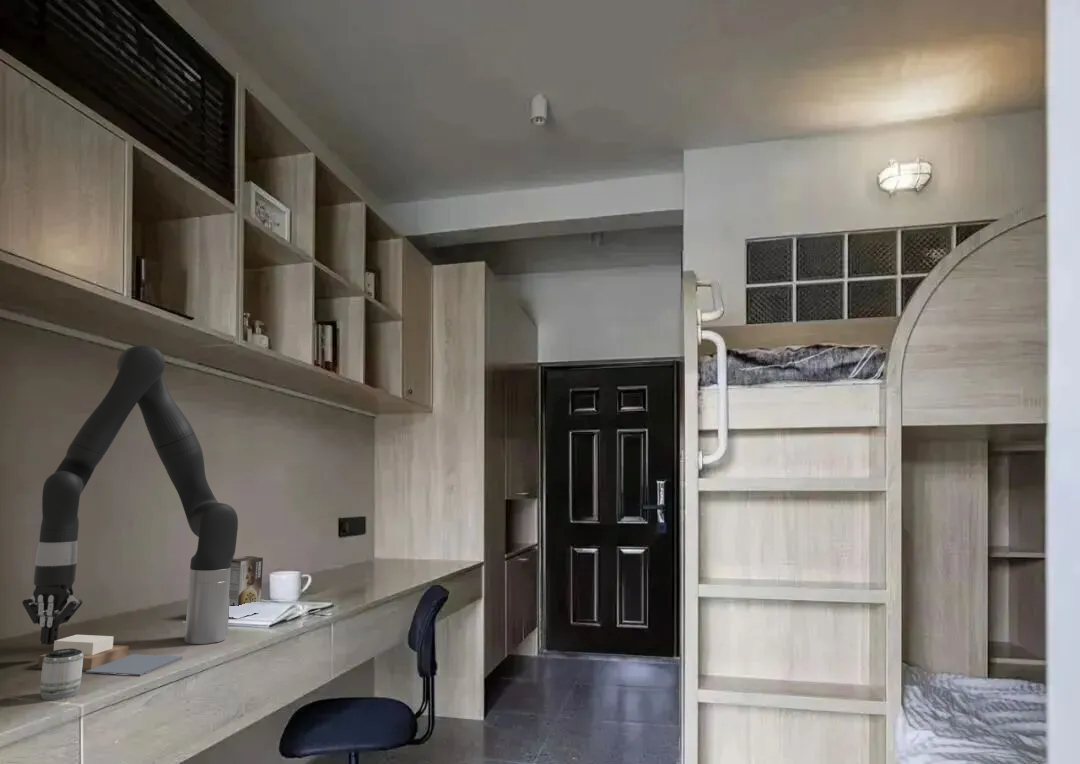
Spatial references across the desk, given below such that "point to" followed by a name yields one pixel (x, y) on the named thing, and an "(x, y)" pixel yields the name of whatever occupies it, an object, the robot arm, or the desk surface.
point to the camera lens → (61, 674)
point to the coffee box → (245, 580)
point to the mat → (135, 664)
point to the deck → (99, 657)
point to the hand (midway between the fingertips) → (48, 644)
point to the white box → (85, 643)
